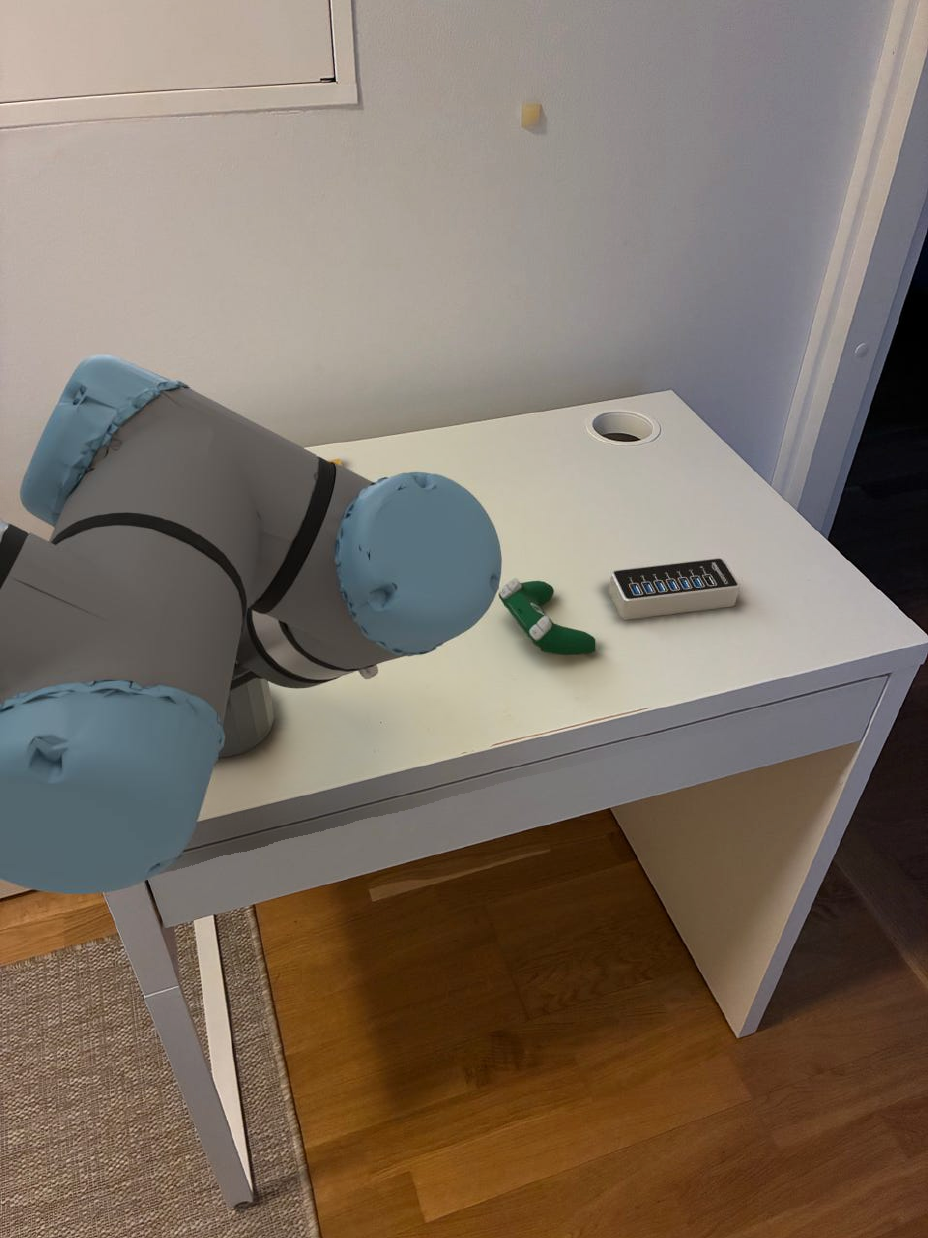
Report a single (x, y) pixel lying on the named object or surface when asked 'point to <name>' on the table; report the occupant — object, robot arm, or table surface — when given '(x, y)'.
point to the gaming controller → (542, 619)
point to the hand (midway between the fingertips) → (219, 664)
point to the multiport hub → (673, 588)
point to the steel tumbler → (247, 717)
